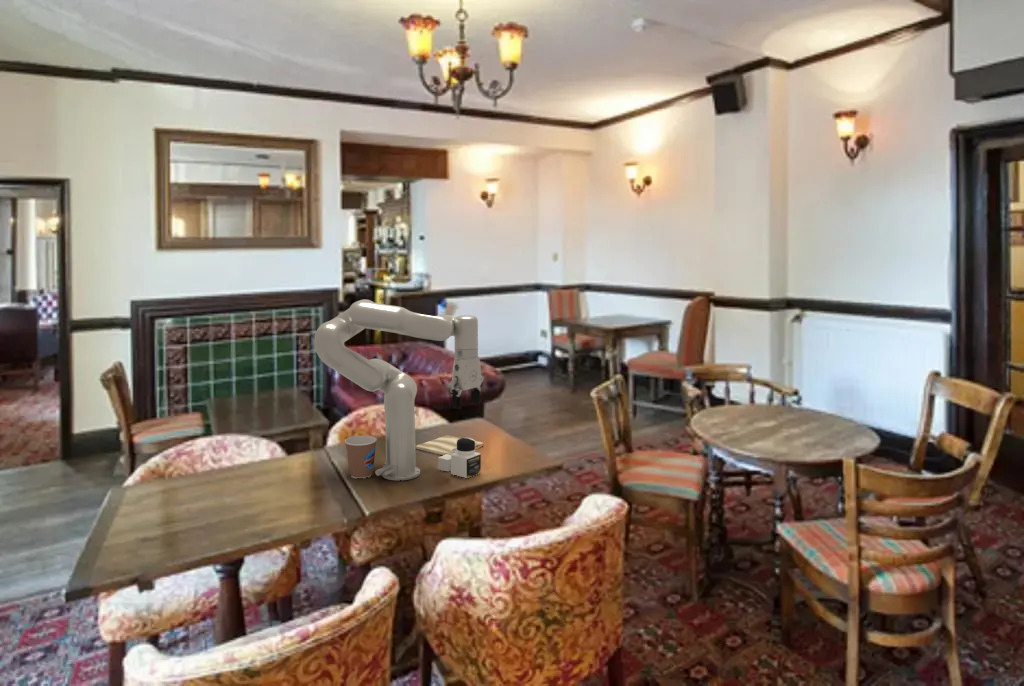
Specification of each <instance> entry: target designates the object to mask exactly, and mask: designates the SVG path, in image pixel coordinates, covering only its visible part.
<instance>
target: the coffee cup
mask: <svg viewBox="0 0 1024 686" xmlns="http://www.w3.org/2000/svg"><path fill="white" fill-rule="evenodd" d="M377 441H378V438H377V437H375V436H374V435H373V436H372V435H355V436H349V437H347V438H346V439H344V443H345V448H346V449H345V450H346V454H347V455H346V456H347V462H348V468H349V469H348V470H349V474H350V477H351V478H353V479H357V478H363V479H367V478H366V477H368V478H370V477H371V475H372V476H373V472H374V467H375V456H376V448H377V447H376V444H377Z"/></svg>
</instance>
